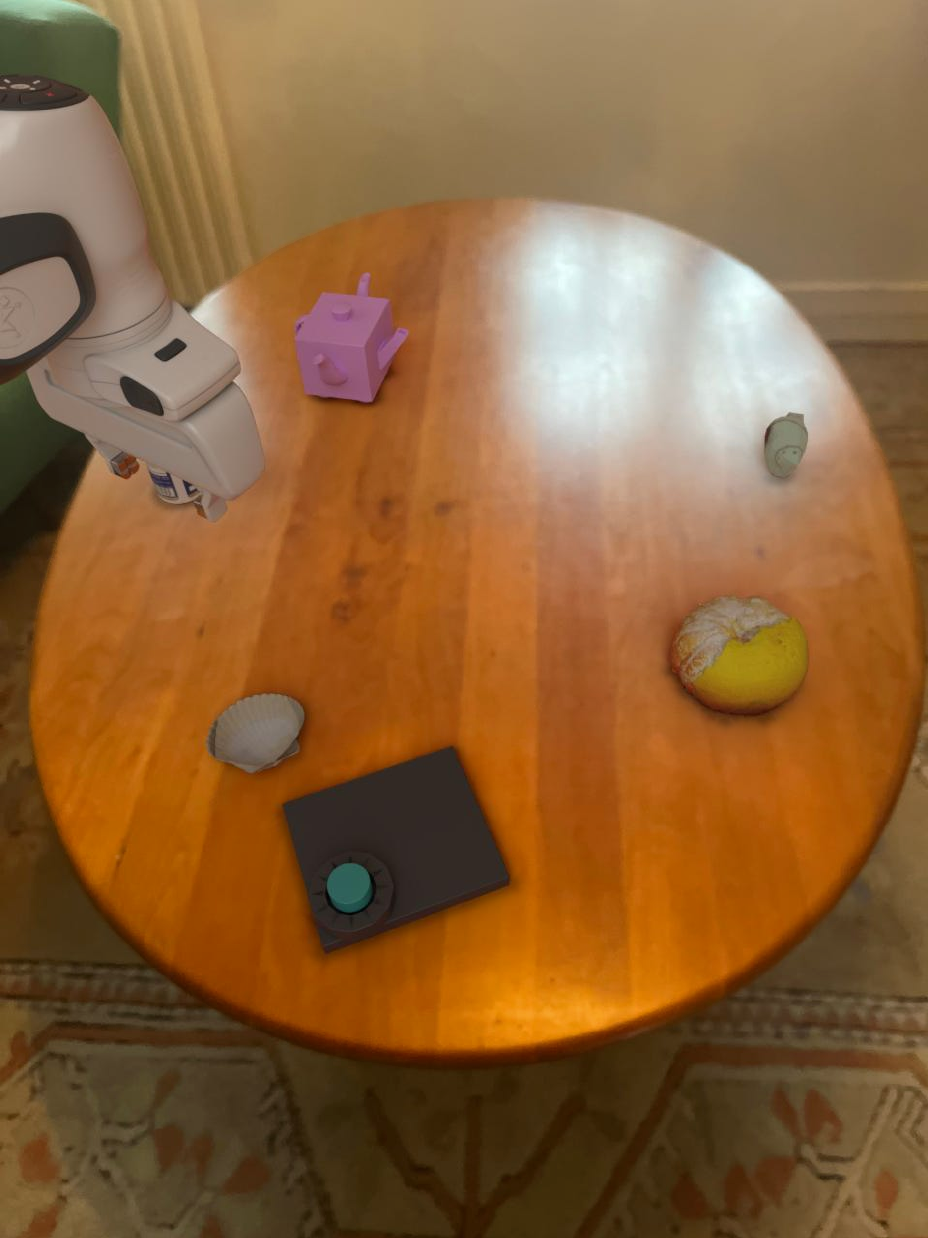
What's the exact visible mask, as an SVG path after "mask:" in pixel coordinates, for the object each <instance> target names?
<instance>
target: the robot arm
mask: <svg viewBox="0 0 928 1238" xmlns="http://www.w3.org/2000/svg"><path fill="white" fill-rule="evenodd" d="M134 179H135V178H134V176H133V173H132V171H131V167H130V165H129V163H128V160H127V157H126V154H125V152H124V150H123V147H122V145H121V143H120V140H119V137H118V136H117V134H116V132H115V129H114V128H113V126H112V124H111V122H110V120H109V118H108V116H107V114H106V113H105V111H104V109H103V108H102V105H100V104H99V102H98V101H97V100H96V99H95V98H94V96H93V95H91V94H89V93H88V92H87V91H85V90H84V89H82V88H80V87H78V86H75V85H73V84H71V83H68V82H65V81H62V80H59V79H55V78H52V77H47V76H43V75H37V74H32V75H27V74H24V75H23V74H18V73H12V74H10V73H9V74H0V386H2V385H5V384H7V383H9V382H11V381H13V380H15V379H17V378H18V377H20V376H21V375H22V374H24V373H26V375H27V377H28V380H29V383H30V386H31V389H32V391H33V393H34V396H35V398H36V400H37V403H38V404H39V405H40V407H41V408H42V409H43V411H44V412H45V413H46V414H47V415H48V416H49V417H50V418H51V419H52V420H54V421H57V422H59V423H60V424H63V425H65V426H67V427H70V428H72V429H73V430H76V431H78V432H80V433H82V434H84V436H85V438H86V440H88V442H89V443H90V444H91V445H92V446H93V448H94V449H95V450H96V451H97V452H98V453H99V455H100V456H101V457H102V458H103V459H104V461H105V462H106V465H107V467H108V470H109V472H110V473H111V474H112V475H114V476H117V477H119V478H121V479H124V480H129V479H131V478H132V475H134V474H137V472H139V470H140V464H139V461H138V460H140V461H142V462H144V463H145V462H146V463H148V464H150V465H152V466H155V467H157V468H159V469H161V470H163V471H165V472H167V473H170V474H172V475H174V476H176V477H178V478H180V479H182V480H184V481H187V482H189V483H191V484H193V485H195V486H196V488H197V490H198V491H200V492H203V494H202V495H199V496H198V497H197V498H196V499H195V500H193V505H194V507H195V509H196V513H197V515H198V516H200V517H201V518H203V519H206V520H207V521H209V522H211V523H216V522H218V521H219V520H220V519H221V518H222V517H224V515H226V514H227V511H228V503H227V501H229V502H233V501H235V500H236V499H238V498H240V496H241V495H243V494H244V493H246V492H247V491H248V490H249V489H250V488H251V487H252V486H254V485H255V484H256V483H257V481H258V480H260V478H261V477H262V476H263V474H264V473H265V469H266V457H265V454H264V448H263V445H262V440H261V435H260V433H259V430H258V426H257V421H256V419H255V415H254V413H253V409H252V406H251V404H250V402H249V400H248V398H247V396H246V395H245V393H244V392H243V390H242V389H241V388H240V386H239V385H238V384H237V383H236V382H235V381H234V380H235V379H236V378H237V377H238V376H239V375H240V374H241V373H242V372H241V371H242V366H241V362H240V358H239V356H238V353H237V352H236V350H235V349H234V348H233V347H232V346H231V345H230V344H229V343H227V342H226V341H225V340H223V339H221V338H220V337H219V336H217V335H216V334H215V333H214V332H211V331H210V330H209V329H208V328H206V327H205V326H204V325H203V324H201V323H200V322H199V321H198V320H196V319H195V318H194V316H193V315H191V314H190V313H189V312H188V311H187V310H186V308H185V307H183V306H182V304H181V303H179V302H178V301H176V300H175V299H171V297H170V293H169V289H168V286H167V282H166V281H165V277H164V276H163V274H162V271H161V270H160V268H159V267H158V266H157V265H156V263H155V261H154V260H153V257H152V255H151V252H150V249H149V239H148V238H149V227H148V220H147V217H146V214H145V210H144V208H143V204H142V201H141V200H142V199H141V197H140V194H139V192H138V188H137V185H136V182H135V180H134ZM137 459H138V460H137Z"/></svg>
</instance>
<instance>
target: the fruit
mask: <svg viewBox="0 0 928 1238" xmlns="http://www.w3.org/2000/svg"><path fill="white" fill-rule="evenodd" d="M809 651H810V650H809V644H808V638H807V634H806V632H805V630H804V627H803V626H802V624H801V622H800V620H799V619H798V618H795V617H794V616H789V615H788V614H787V613H785V612H784V611H782V610H781V609H779V608H777V607H776V605H774V604H773V603H771V602H770V601H769V600H767V599H766V597H763V596H756V595H753V596H752V595H751V596H747V597H744V598H741V597H739V596H736V595H732V594H729V595H726V596H720V597H714V598H712V599H710V600H708V601H705V602H704V603H703V604H702V603H700V602H699V603H698V607H696V608H694V609H693V610H691V611H690V613H688V614H687V615H685V616H683V618H682V619H681V620H680V622H679V624H678V625H677V629H676V632H675V633H674V635H673V637H672V640H671V641H670V645H669V662H670V670H671V672H672V673H675V674H676V676H678V678H679V680H680V682H681V684H682V685H683V691H685V692H686V693H687V694H690V695H691V696H693V697H694V699H695V700H696V701H697V702H698V703H700V704H701V705H703V707H705V708H707V709H709V710H711V711H712V712H713V713H714V712H717V713H723V714H724V713H725V714H729V715H730V716H735V715H741V716H743V717H745V716H748V717H749V716H750V717H752V716H761V715H764V714H766V713H770V712H772V711H773V710H776V709H777V708H778V707H780V706H781V705H782V704H784V703H785V702H786V701H788V700H789V699H790V698H792V697H793V696H794V695H795V694H796V693H797V692H798V690H799V689H800V688H801V686H802V684H803V682H804V681H805V679H806V676H807V674H808V671H809V667H810V666H809V664H810V654H809Z"/></svg>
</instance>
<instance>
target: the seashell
mask: <svg viewBox="0 0 928 1238" xmlns="http://www.w3.org/2000/svg"><path fill="white" fill-rule="evenodd" d="M305 721H306V712H305V710H304V707H303V705H302V704H301V703H300V702H299V701H298V699H295V698H294V697H293V696H289V695H288V694H282V693H274V692H271V693H265V692H263V693H261V694H259V693H257V694H253V695H252V696H246V697H243V699H239V700H237V701H236V702H235V703H232V704H231V705H229V706H228V708H226V709H224V710H222V712H221V714H219V715H218V716H217V717H216V718H215V720H214V721H213V722H212V723H211V726H210V728H209V729H208V731H207V734H206V739H205V744H206V745H205V748H206V751H207V753H208V755H209V756H211V757H212V758H214V759H215V760H217V761H220V762H223V763H227V764H231V765H234V766H235V767H237V768H239V769H241V770H244V772H247V773H248V774H257V773H259V772H261V771H263V770H268V769H273V768H276V767H278V766H279V765H280V764H281V763H283V762H284V760H285V759H287V758H290V757H291V756H294V755H296V754H298V753H299V752H300V750H301V748H300V745H301V744H300V742H299V741H298V739H299V736H300V733H301V731H302V728H303V725H304V723H305Z"/></svg>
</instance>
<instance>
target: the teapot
mask: <svg viewBox="0 0 928 1238" xmlns="http://www.w3.org/2000/svg"><path fill="white" fill-rule="evenodd" d="M370 281H371V273H369V272H365V273H363V274H362V275H361V277H360V278H359V280H358V285H357V289H356V295H355V294H346V293H334V292H325V291H323V292H322V293H321V295H319V298H318V299H317V301H316V302H315V304H314V306H313V307H312V308H311V310H310V311H309V313H306V314H303V315H301V316H299V317H298V318H297V320H296V321H295V323H294V326H293V331H294V334H295V336H294V339H293V341H294V347H295V351H296V355H297V356H296V357H297V361H298V365H299V370H300V376H301V379H302V385H303V390H304V394H305V395H310V396H311V395H312V396H319V397H320V398H323V399H324V398H325V399H326V398H335V399H344V400H353V401H358V402H361V403H373V401H374V400H375V398H376V395H377V393H378V391H379V389H380V387H381V385H382V383H383V381H384V379H385V376H386V375H387V374H388V371H389V369H390V366H391V365H392V363H393V361H394V358H395V357H396V355H397V351H398V349H399V348H400V347H401V345H402V344H403V343H404V342H405V340H406V339H407V338H408V336H409V334H410V330H408V329H405V328H403V327H400V326H399V327H398V328H397V329H396V330H395V331H394V323H393V314H392V306H391V299H390V298H385V297H376V296H375V297H374V296H371V295H370Z"/></svg>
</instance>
